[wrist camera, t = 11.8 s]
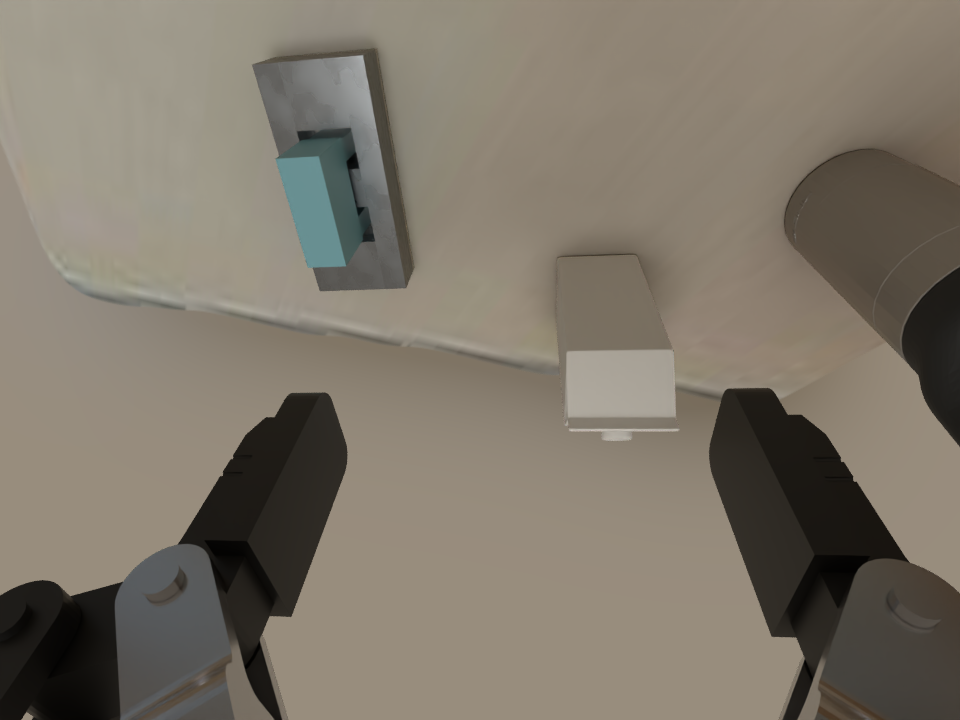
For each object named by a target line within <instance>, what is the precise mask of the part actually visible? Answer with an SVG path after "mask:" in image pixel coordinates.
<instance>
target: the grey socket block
mask: <svg viewBox="0 0 960 720" xmlns="http://www.w3.org/2000/svg"><path fill="white" fill-rule="evenodd" d="M252 66H253V69H254V72H255V76H256V79H257V83H258V86H259V89H260V93H261V96H262V99H263V103H264V106H265V109H266V113H267V116H268V119H269V123H270V126H271V129H272V133H273V136H274V139H275V143H276V146H277V149H278V153H279V156H280V155H282V154H283V153H284V152H286V151H287V150H288V149H290V148H291V147H293V146H294V145H295V144H297V143H298V142H300V141H301V140H307V139H309V138H311V137H312V136H313V135H315V134H316V133H317V132H319V131H320V130H325V129H341V128H351V130H352V135H353V139H354V144H355V149H356V152H355V153H354V154H353V155H352V156H351V157H350V158H349V159H348V160H347V161H346V164H347V168H348V173H349V177H350V182H351V186H352V191H353V195H354V200H355V204H356V207H368V210H369V214H370V219H371V223H370V225H369V226H368V228H367V229H366V231H365V232H364V234H363V240H362V242H361V244H360V245H359V247H358V248H357V250H356V252H355V253H354V255H353V256H352V258H351V260H350V261H349V263H348V264H347V266H342V267H313V270H314V273H315V276H316V280H317V283H318V286H319V290H320V291H338V290H367V289H395V288H406V287H407V285H408V282H409V280H410V277H411V275H412V272H413V269H414V264H413V258H412V252H411V246H410V241H409V235H408V229H407V223H406V217H405V211H404V206H403V200H402V194H401V188H400V182H399V176H398V171H397V165H396V159H395V153H394V147H393V141H392V135H391V130H390V124H389V118H388V112H387V106H386V100H385V95H384V89H383V83H382V77H381V71H380V65H379V60H378V54H377V49H366V50H355V51H343V52H332V53H320V54H309V55H297V56H286V57H275V58H271V59H268V60H265V61H262V62H259V63H256V64H253V65H252Z"/></svg>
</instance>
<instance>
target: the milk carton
mask: <svg viewBox="0 0 960 720" xmlns="http://www.w3.org/2000/svg"><path fill="white" fill-rule="evenodd" d="M556 327H557V340H558V352H559V365H560V377H561V390H562V403H563V416H564V425H565V426H568V428H569V431H601V439H603V440H607V441H625V440H630V439H632V431H679V426H678V423H677V420H676V406H675V374H674V350H673V349H672V346H671V343H670V341H669V338H668V336H667V333H666V330H665V328H664V325H663V323H662V320H661V317H660V315H659V312H658V310H657V307H656V304H655V302H654V299H653V297H652V294H651V291H650V289H649V286H648V284H647V281H646V278H645V276H644V273H643V271H642V268H641V266H640V263H639V260H638V258H637V256H636V255H606V256H577V257H559V258H558V259H557V306H556Z"/></svg>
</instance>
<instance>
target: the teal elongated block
mask: <svg viewBox="0 0 960 720" xmlns="http://www.w3.org/2000/svg"><path fill="white" fill-rule="evenodd" d="M355 152H356V149H355V144H354V139H353V135H352V130H351V128H341V129H325V130H320V131H319V132H317V133H316V134H315V135H313V136H312V137H311V138H309V139H307V140H301V141H300V142H298V143H297V144H295V145H294V146H293V147H291V148H290V149H288V150H287V151H286V152H284V153H283V154H282V155H280V156H279V157H277V158H276V162H277V165H278V169H279V172H280V176H281V179H282V182H283V186H284V189H285V192H286V196H287V199H288V202H289V206H290V209H291V212H292V216H293V219H294V222H295V226H296V229H297V232H298V236H299V239H300V243H301V246H302V249H303V253H304V256H305V259H306V263H307V266H308V268H313V267H342V266H347V264H348V263H349V261H350V260H351V258H352V256H353V255H354V253H355V252H356V250H357V248H358V247H359V245H360V244H361V242H362V240H363V234H364V232H365V231H366V229H367V228H368V226H369V225H370V223H371V219H370V214H369V210H368V207H356V204H355V200H354V195H353V191H352V186H351V182H350V177H349V173H348V168H347V164H346V161H347V160H348V159H349V158H350V157H351V156H352V155H353V154H354V153H355Z"/></svg>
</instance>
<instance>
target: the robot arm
mask: <svg viewBox="0 0 960 720" xmlns="http://www.w3.org/2000/svg"><path fill="white" fill-rule="evenodd" d="M785 232H786V234H787V237H788V240H789V241H790V243H791V244H792V245H793V247H794V248H795V249H796V250H797V251H798V252H799V253H800V254H801V255H802V256H803V257H804V258H805V259H806V260H807V261H808V262H809V263H810V264H811V265H812V266H813V268H814V269H815V270H816V271H817V272H818V273H819V274H820V275H821V276H822V277H823V278H824V279H825V280H826V281H827V282H828V283H829V284H830V285H831V286H832V287H833V288H834V289H835V290H836V291H837V292H838V293H839V294H840V295H841V296H842V297H843V298H844V299H845V300H846V301H847V302H848V303H849V304H850V305H851V306H852V307H853V308H854V309H855V310H856V311H857V312H858V314H859V315H860V316H861V317H862V318H863V319H864V320H865V321H866V322H867V323H868V324H869V325H870V326H871V327H872V328H873V329H874V330H875V331H876V332H877V333H878V334H879V335H880V336H881V337H882V338H883V339H884V340H885V341H886V342H887V343H888V344H889V345H890V346H891V347H892V348H893V349H894V350H895V351H896V352H897V353H898V354H899V355H900V356H901V357H902V358H903V359H904V360H905V361H906V362H907V363H908V364H909V365H910V367H911V368H912V369H913V370H915V372H916V373H917V374H918V375H919V380H920V385H921V390H922V393H923V396H924V399H925V401H926V403H927V405H928V407H929V408H930V410H931V411H932V413H933V414H934V415H935V417H936V418H937V419H938V421H939V422H940V423H941V424H942V425H943V427H944V428H945V429H946V430H947V431H948V433H949V434H950V435H951V436H952V438H953V439H954V440H955V441H956V442H957V444H958V445H959V446H960V186H959V185H957V184H955V183H953V182H951V181H949V180H947V179H945V178H943V177H941V176H939V175H937V174H935V173H932V172H930V171H928V170H926V169H924V168H922V167H920V166H915V165H913V164H911V163H909V162H906V161H904V160H902V159H900V158H898V157H896V156H894V155H892V154H890V153H887V152H885V151H880V150H874V149H868V150H857V151H853V152H849V153H845V154H843V155H840V156H838V157H835V158H833V159H831V160H829V161H828V162H826V163H825V164H823V165H821V166H820V167H818V168H817V169H816V170H815V171H814V172H812V173H811V174H810V175H809V176H808V177H807V178H806V179H805V180H804V181H803V182H802V183H801V185H800V186H799V187H798V188H797V190H796V191H795V193H794V195H793V196H792V198H791V200H790V202H789V205H788V208H787V210H786V216H785ZM233 457H234V458H233V459H231V460H230V461H229V463H228V465H227V466H226V468H225V469H224V471H223V476H220V477H219V479H218V481H217V482H216V484H215V486H214V487H213V489H212V491H211V492H210V494H209V495H208V497H207V499H206V500H205V502H204V503H203V505H202V507H201V509H200V510H199V512H198V513H197V515H196V517H195V518H194V520H193V521H192V523H191V525H190V526H189V528H188V529H187V531H186V533H185V534H184V536H183V537H182V539H181V541H180V542H179V543H178V545H174V546H171V547H167V548H165V549H163V550H160V551H158V552H156V553H155V554H153V555H151V556H150V557H148V558H147V559H145V560H144V561H142V562H141V563H140V564H139V565H138V566H137V567H135V569H133V571H132V572H131V573H130V574H129V575H128V576H127V577H126V579H125V580H124V582H121V583H117V584H114V585H110V586H106V587H103V588H99V589H96V590H92V591H88V592H84V593H81V594H77V595H74V596H69V595H68V594H67V593H66V592H65V591H64V590H63V589H62V588H61V587H60V586H59V585H58V584H56V583H54V582H51V581H44V580H42V581H34V582H29V583H26V584H23V585H20V586H18V587H15V588H13V589H11V590H9V591H7V592H6V593H4V594H2V595H0V720H21V719H22V718H23V716H24V714H25V713H26V712H28V713H29V714H30V715H32V716H33V719H32V720H288V717H287V714H286V710H285V707H284V703H283V700H282V697H281V693H280V690H279V686H278V683H277V680H276V676H275V673H274V669H273V666H272V663H271V659H270V656H269V653H268V649H267V646H266V642H265V639H264V637H263V635H262V633H263V630H264V628H265V626H266V623H267V621H268V618H269V616H286V617H291V616H292V614H293V611H294V608H295V605H296V603H297V600H298V597H299V595H300V592H301V589H302V587H303V584H304V581H305V578H306V575H307V573H308V570H309V568H310V565H311V562H312V560H313V557H314V554H315V552H316V549H317V546H318V543H319V541H320V538H321V535H322V533H323V530H324V527H325V525H326V522H327V519H328V516H329V514H330V511H331V508H332V506H333V502H334V500H335V497H336V495H337V492H338V489H339V487H340V484H341V481H342V479H343V476H344V473H345V469H346V465H347V446H346V442H345V439H344V436H343V432H342V429H341V427H340V423H339V420H338V417H337V414H336V412H335V409H334V405H333V402H332V399H331V397H330V396H329V395H328V394H327V393H291V394H289V395H288V396H287V397H286V399H285V400H284V402H283V404H282V405H281V407H280V409H279V411H278V412H277V414H276V416H275V417H269V418H268V417H266V418H265V419H264V420H262V421H261V422H260V423H259V424H258V425H257V426H255V427H254V428H253V429H252V430H251V431H250V432H249V433H247V434H246V435H245V437H244V439H243V440H242V442H241V443H240V445H239V447H238V448H237V450H236V452H235V453H234V455H233ZM709 459H710V467H711V472H712V475H713V478H714V481H715V484H716V486H717V489H718V492H719V494H720V497H721V500H722V503H723V505H724V508H725V511H726V513H727V516H728V519H729V522H730V524H731V527H732V530H733V532H734V535H735V538H736V541H737V544H738V546H739V549H740V552H741V554H742V557H743V560H744V563H745V565H746V568H747V571H748V573H749V576H750V579H751V581H752V584H753V587H754V590H755V592H756V595H757V598H758V600H759V603H760V606H761V608H762V612H763V614H764V617H765V620H766V622H767V625H768V627H769V631H770V633H771V636H772V637H796V638H797V640H798V642H799V645H800V647H801V650H802V652H803V655H804V656H803V658H802V660H801V662H800V664H799V667H798V669H797V672H796V674H795V677H794V680H793V682H792V685H791V688H790V690H789V693H788V696H787V698H786V701H785V704H784V706H783V709H782V712H781V714H780V717H779V720H960V593H959V592H958V591H957V590H956V589H955V588H954V587H952V586H951V585H950V584H949V583H947V582H946V581H945V580H943V579H942V578H940V577H939V576H937V575H935V574H934V573H932V572H930V571H928V570H926V569H924V568H922V567H920V566H917V565H915V564H912V563H910V562H909V561H908V560H907V558H906V557H905V556H904V554H903V553H902V551H901V550H900V548H899V547H898V545H897V544H896V542H895V540H894V539H893V537H892V536H891V534H890V533H889V531H888V530H887V528H886V526H885V525H884V523H883V522H882V520H881V519H880V517H879V516H878V514H877V513H876V511H875V509H874V508H873V507H872V505H871V503H870V502H869V500H868V499H867V497H866V496H865V494H864V493H863V491H862V489H861V488H860V486H859V485H858V483H857V482H854V481H853V475H852V474H851V472H850V471H849V469H848V468H847V466H846V465H845V463H844V462H841V457H840V455H839V454H838V452H837V451H836V449H835V448H834V446H833V445H832V443H831V441H830V440H829V438H828V437H827V436H826V434H825V433H823V432H822V431H821V430H820V429H819V428H817V427H816V426H815V425H814V424H812V423H811V422H810V421H809V420H807V419H806V418H805V417H803V416H802V415H787V413H786V411H785V410H784V408H783V406H782V404H781V403H780V401H779V399H778V398H777V396H776V394H775V393H774V392H773V391H772V390H771V389H769V388H739V389H727V390H726V391H725V392H724V394H723V396H722V400H721V404H720V408H719V412H718V415H717V419H716V423H715V427H714V431H713V435H712V438H711V443H710V450H709Z"/></svg>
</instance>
